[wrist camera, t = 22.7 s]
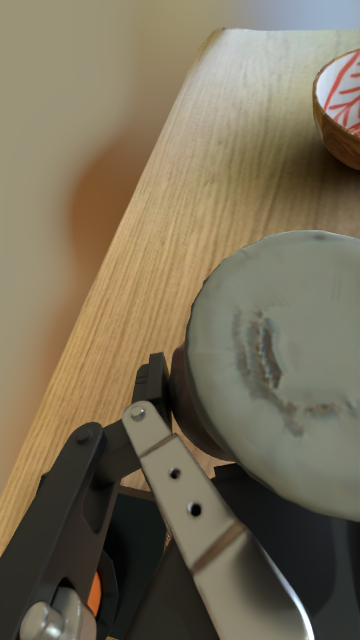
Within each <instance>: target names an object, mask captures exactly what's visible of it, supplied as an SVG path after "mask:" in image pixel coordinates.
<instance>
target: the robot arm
mask: <svg viewBox="0 0 360 640" xmlns="http://www.w3.org/2000/svg"><path fill="white" fill-rule="evenodd" d="M169 382H170V377H169V372H168V368H167V364H166V360H165V356H164V353H163V352H159V353H154V354H150V358H149V364H144V365H142V366H141V367H140V368H139V370H138V371H137V376H136V381H135V387H134V392H133V397H132V402H131V405H130V406H128V407H127V408H126V409H125V411H124V412H123V414H122V418H121V419H120V420H119V421H117V422H115V423H113V424H110V425H108V426H106V427H104V428H102V426H101V425H100V424H99V423H97V422H90V423H86V424H84V425H82V426H80V427H78V428H77V429H76V430H75V431H74V432H73V433H72V434H71V435H70V436H69V438H68V440H67V441H66V443H65V445H64V447H63V448H62V450H61V452H60V454H59V456H58V457H57V459H56V461H55V463H54V464H53V466H52V468H51V470H50V471H49V473H48V475H47V477H46V478H45V480H44V482H43V484H42V485H41V487H40V489H39V491H38V493H37V494H36V496H35V498H34V500H33V501H32V503H31V505H30V507H29V508H28V510H27V512H26V514H25V515H24V517H23V519H22V521H21V522H20V524H19V526H18V528H17V530H16V531H15V533H14V535H13V537H12V538H11V540H10V542H9V544H8V545H7V547H6V549H5V551H4V552H3V554H2V556H1V558H0V640H96V631H97V629H96V620H95V616H94V613H93V611H92V610H91V608H90V607H89V606H88V605H87V603H88V599H89V595H90V592H91V588H92V584H93V581H94V577H95V574H96V570H97V566H98V563H99V559H100V555H101V552H102V548H103V545H104V541H105V537H106V534H107V530H108V526H109V523H110V519H111V516H112V512H113V508H114V505H115V501H116V497H117V494H118V490H119V487H120V483H121V479H122V478H123V477H125V476H127V475H129V474H131V473H133V472H135V471H136V470H138V469H140V468H141V470H142V472H143V474H144V476H145V479H146V481H147V483H148V486H149V488H150V490H151V493H152V495H153V497H154V500H155V502H156V504H157V507H158V509H159V511H160V514H161V516H162V519H163V521H164V523H165V526H166V528H167V530H168V533H169V535H170V537H171V539H170V541H169V543H168V545H167V547H166V549H165V552H164V554H163V556H162V558H161V560H160V562H159V564H158V566H157V568H156V570H155V572H154V574H153V576H152V578H151V580H150V582H149V584H148V586H147V589H146V591H145V593H144V595H143V597H142V599H141V601H140V603H139V605H138V607H137V609H136V611H135V613H134V615H133V617H132V619H131V621H130V624H129V626H128V628H127V630H126V632H125V634H124V636H123V638H122V640H360V522H354V521H350V520H346V519H340V518H333V517H328V516H324V515H320V514H316V513H313V512H311V511H309V510H306V509H304V508H302V507H299V506H297V505H295V504H292V503H290V502H288V501H285V500H284V499H282V498H281V497H279V496H278V495H277V494H275V493H274V492H272V491H271V490H269V489H268V488H266V487H265V486H263V485H262V484H260V483H259V482H257V481H256V480H254V479H253V478H251V477H250V476H249V474H248V473H247V472H246V471H245V470H244V469H243V468H242V467H241V466H240V465H238V464H237V463H233V464H227V465H222V466H216V467H214V471H215V477H214V478H212V479H209V478H208V476H207V475H206V473H205V472H204V471H203V469H202V468H201V466H200V465H199V463H198V462H197V461H196V459H195V458H194V456H193V455H192V454H191V452H190V451H189V449H188V448H187V447H186V445H185V444H184V442H183V441H182V440H181V438H180V437H179V435H178V434H177V433H174V434H173V433H172V411H171V406H170V401H169Z"/></svg>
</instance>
